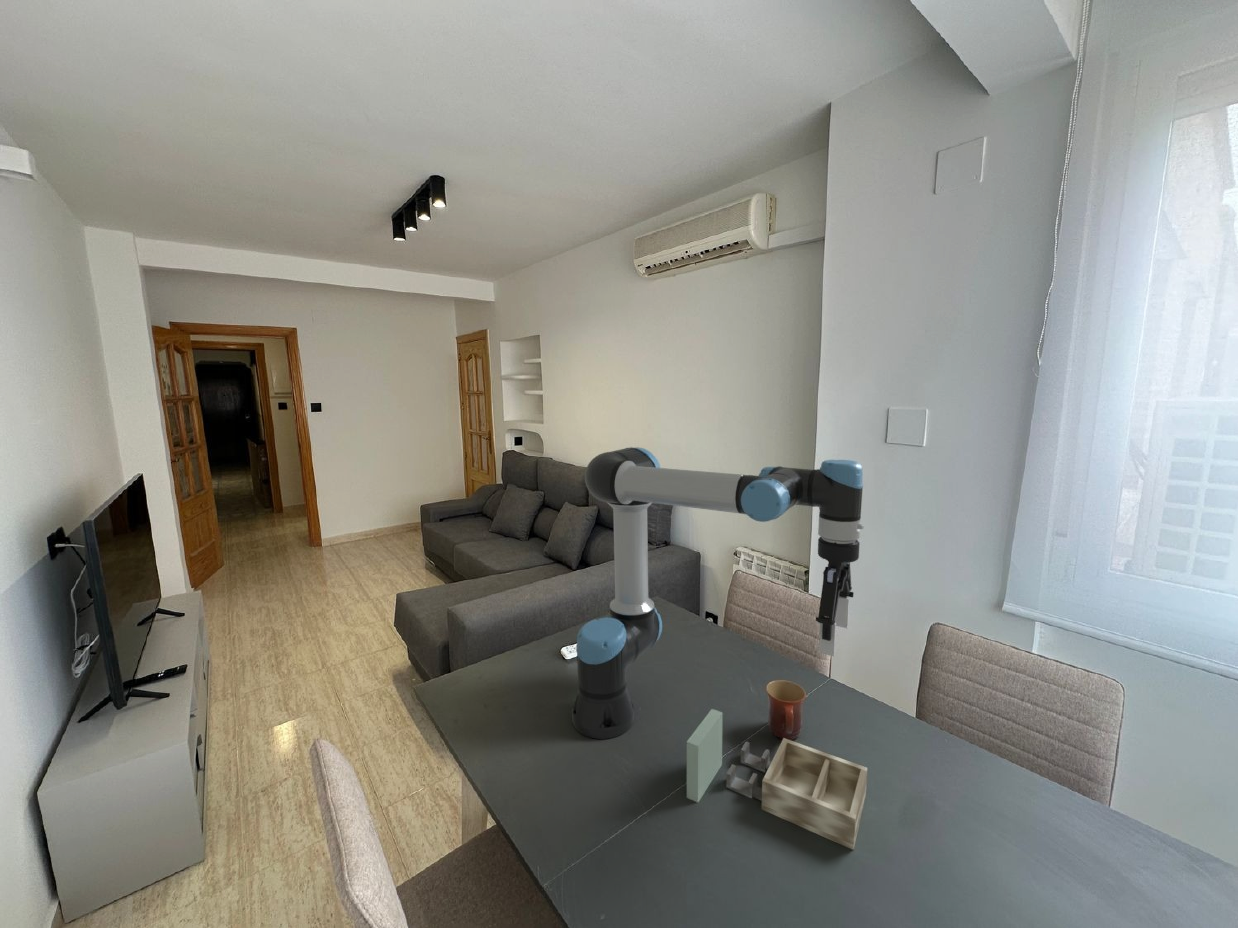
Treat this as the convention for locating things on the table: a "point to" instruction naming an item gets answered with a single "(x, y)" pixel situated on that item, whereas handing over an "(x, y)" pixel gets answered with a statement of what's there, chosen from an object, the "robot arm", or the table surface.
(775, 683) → the mug
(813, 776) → the wooden divided box
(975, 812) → the table surface
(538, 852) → the table surface
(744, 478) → the robot arm
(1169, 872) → the table surface
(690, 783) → the block
